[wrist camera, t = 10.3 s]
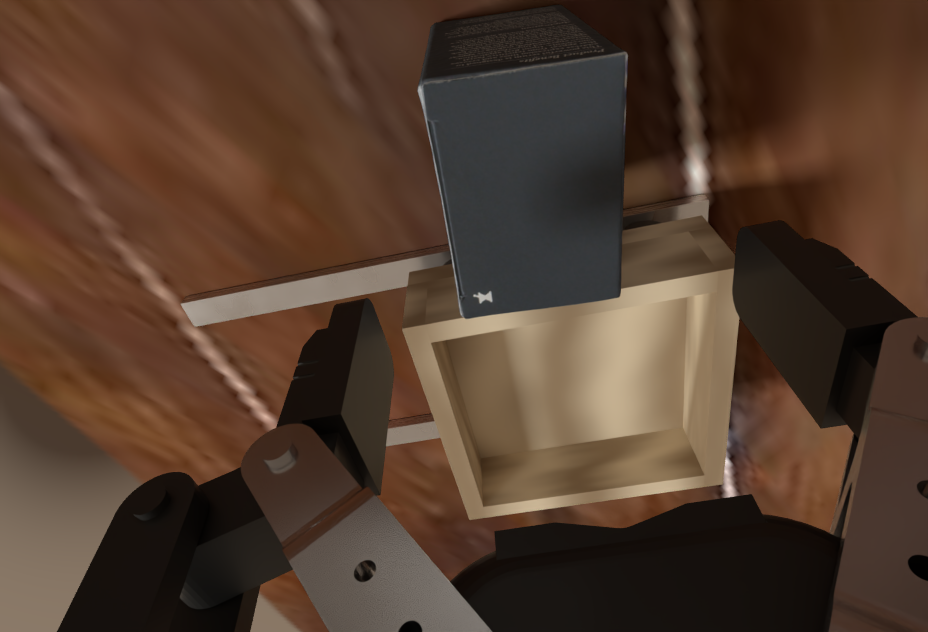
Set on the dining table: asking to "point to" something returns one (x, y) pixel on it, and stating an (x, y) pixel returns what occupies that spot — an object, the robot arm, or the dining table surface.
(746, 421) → the dining table surface
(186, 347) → the dining table surface
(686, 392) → the light wooden open box
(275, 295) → the rails
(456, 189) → the box
